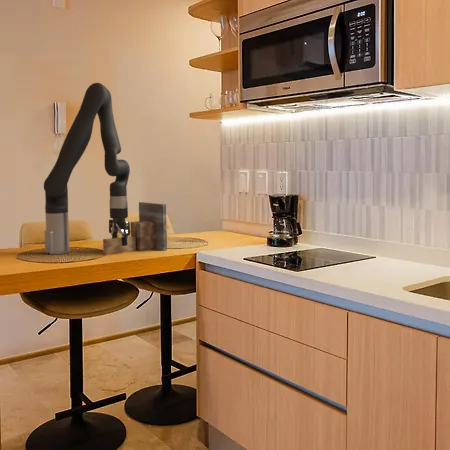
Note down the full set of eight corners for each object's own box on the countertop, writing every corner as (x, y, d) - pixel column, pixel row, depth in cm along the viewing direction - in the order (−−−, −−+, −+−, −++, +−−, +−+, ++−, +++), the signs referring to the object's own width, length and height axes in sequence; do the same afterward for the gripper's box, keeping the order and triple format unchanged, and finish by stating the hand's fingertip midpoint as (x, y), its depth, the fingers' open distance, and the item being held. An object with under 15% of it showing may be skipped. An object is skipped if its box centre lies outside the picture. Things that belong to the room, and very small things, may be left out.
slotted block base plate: (148, 252, 229) (146, 205, 226) (124, 247, 244) (123, 203, 242) (166, 250, 235) (166, 204, 232) (142, 245, 250) (141, 202, 248)
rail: (106, 254, 226) (106, 239, 225) (103, 253, 228) (103, 239, 227) (143, 249, 237) (143, 236, 237) (140, 248, 240) (140, 235, 239)
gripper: (102, 206, 232) (103, 243, 234) (118, 208, 221) (120, 247, 223) (118, 205, 237) (119, 242, 239) (134, 207, 226) (135, 245, 228)
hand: (119, 244), depth 231 cm, fingers open, 8 cm apart
